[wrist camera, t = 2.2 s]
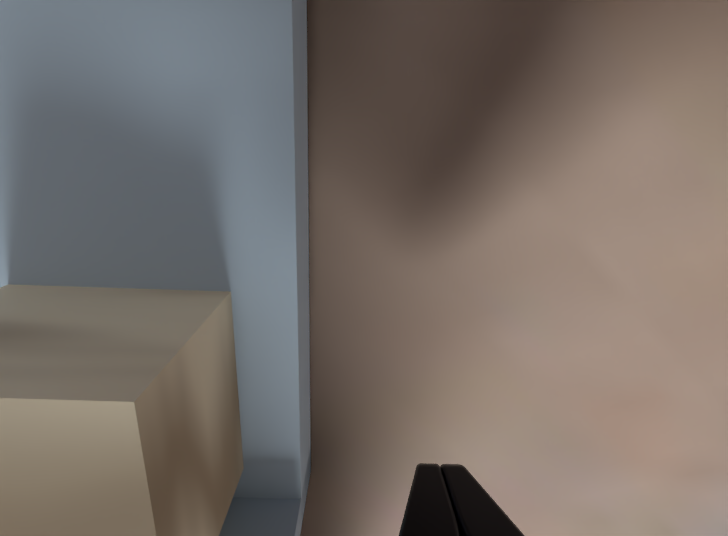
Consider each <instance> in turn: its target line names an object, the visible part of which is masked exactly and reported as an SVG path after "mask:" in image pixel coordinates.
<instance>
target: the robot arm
mask: <svg viewBox="0 0 728 536" xmlns="http://www.w3.org/2000/svg"><path fill="white" fill-rule="evenodd" d="M399 536H524V535H523V534H522V532H521V531H520V530H519V529H518V528H517V527H516V525H515V524H514V523H513V522H512V521H511V520H510V519H509V517H508V516H507V515H506V514H505V513H504V512H503V511H502V509H501V508H500V507H499V506H498V505H497V504H496V502H495V501H494V500H493V499H492V498H491V497H490V496H489V494H488V493H487V492H486V491H485V490H484V489H483V488H482V486H481V485H480V484H479V483H478V482H477V481H476V479H475V478H474V477H473V476H472V475H471V474H470V473H469V471H468V470H467V469H466V468H465V467H464V466H462V465H458V464H443V465H441V466H439V465H438V464H424V463H420V464H418V465H417V467H416V471H415V475H414V479H413V483H412V486H411V490H410V494H409V498H408V502H407V506H406V510H405V514H404V518H403V521H402V525H401V529H400V533H399Z"/></svg>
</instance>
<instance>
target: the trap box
mask: <svg viewBox="0 0 728 536" xmlns="http://www.w3.org/2000/svg"><path fill="white" fill-rule="evenodd" d="M8 284H12V285H43V286H74V287H105V288H136V289H167V290H198V291H229V292H231V301H232V314H233V328H234V342H235V356H236V369H237V383H238V397H239V411H240V424H241V438H242V452H243V466H244V469H243V471H242V474H241V477H240V480H239V482H238V485H237V488H236V490H235V493H234V496H233V499H232V501H231V504H230V507H229V510H228V512H227V515H226V518H225V520H224V523H223V526H222V529H221V531H220V534H219V536H300V533H301V527H302V521H303V515H304V509H305V503H306V497H307V491H308V485H309V478H310V472H311V439H310V324H309V208H308V93H307V0H0V288H1V287H3V286H5V285H8Z"/></svg>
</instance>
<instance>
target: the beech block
mask: <svg viewBox="0 0 728 536" xmlns="http://www.w3.org/2000/svg"><path fill="white" fill-rule="evenodd" d="M243 469H244V466H243V452H242V438H241V424H240V411H239V397H238V383H237V369H236V356H235V342H234V328H233V314H232V301H231V292H229V291H198V290H167V289H136V288H105V287H74V286H43V285H12V284H8V285H5V286H3V287H1V288H0V536H219V534H220V531H221V529H222V526H223V523H224V520H225V518H226V515H227V512H228V510H229V507H230V504H231V501H232V499H233V496H234V493H235V490H236V488H237V485H238V482H239V480H240V477H241V474H242V471H243Z"/></svg>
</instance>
